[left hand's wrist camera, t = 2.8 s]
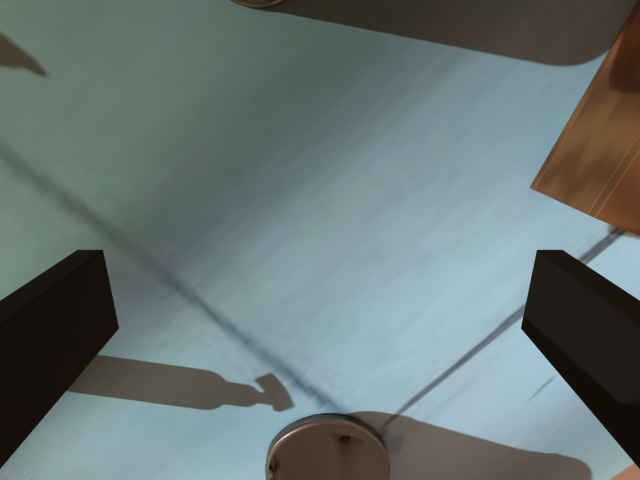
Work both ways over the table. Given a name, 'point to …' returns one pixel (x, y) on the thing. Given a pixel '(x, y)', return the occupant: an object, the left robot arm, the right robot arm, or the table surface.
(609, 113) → the cabinet
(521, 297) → the table surface
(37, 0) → the table surface
